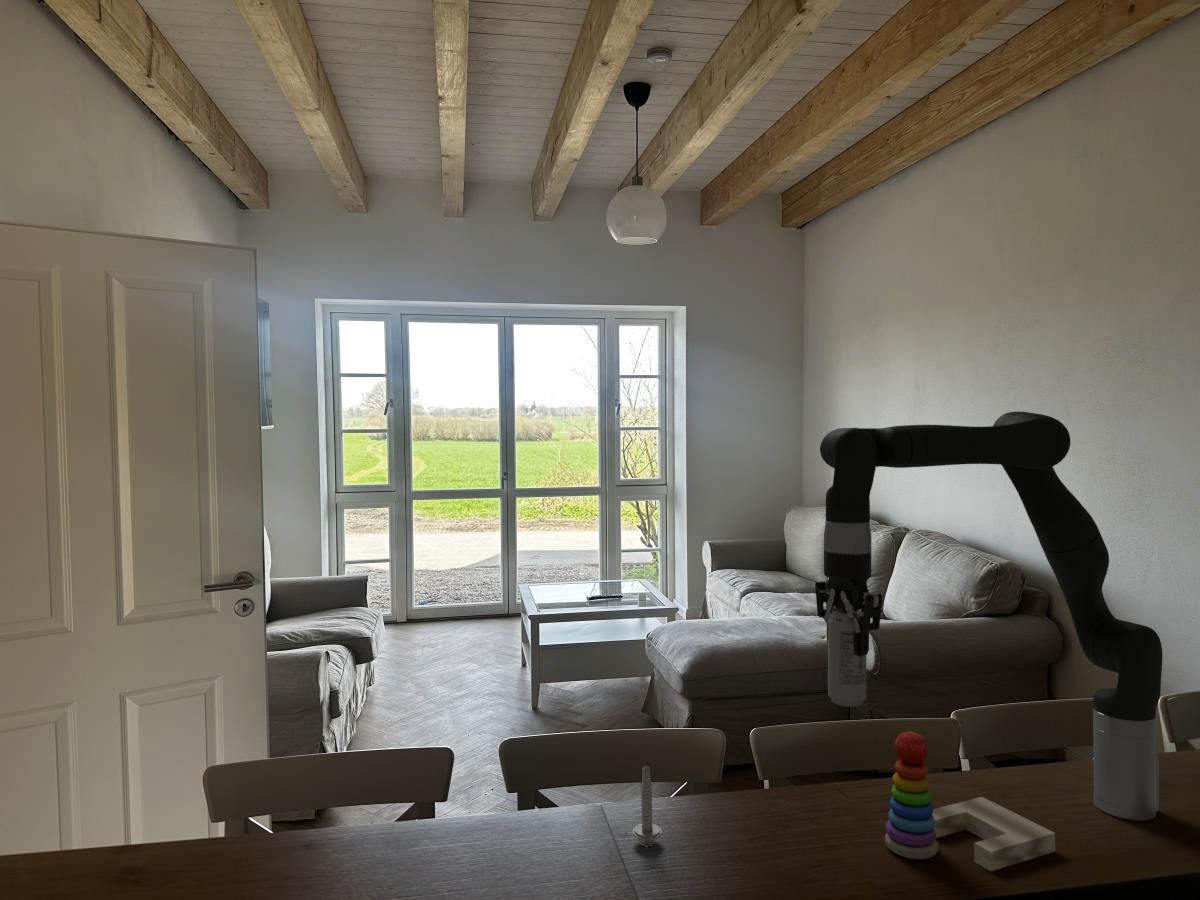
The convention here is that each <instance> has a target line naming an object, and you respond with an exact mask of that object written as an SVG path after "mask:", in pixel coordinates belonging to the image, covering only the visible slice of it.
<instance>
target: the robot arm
mask: <svg viewBox="0 0 1200 900" xmlns="http://www.w3.org/2000/svg"><path fill="white" fill-rule="evenodd" d="M1070 448H1071V435H1070V432H1069V430H1068V428H1067V427H1066V426H1065V424H1063V422H1061V421H1060V420H1058V419H1056V418H1054V417H1052V416H1049V415H1046V414H1041V413H1035V412H1034V413H1033V412H1028V411H1009V412H1006V413H1004V414H1002V415H1000V416H999V417H998V418H997V419H996V420H995V421H994V423H993V425H992V426H991V425H989V426H968V425H949V424H910V425H909V424H907V425H905V424H904V425H894V426H887V427H879V428H877V427H875V428H873V427H872V428H871V427H869V428H867V427H866V428H864V427H862V428H859V427H844V428H843V427H841V428H837V429H833V430H831V431H829V432H828V433H827V434H826V435H825V436H824V437H823V438H822V440H821V443H820V445H819V453H820V456H821V458H822V460H823V462H824V463H825V464H827V466H829V467H831V468H832V469H833V479H832V485H831V486H830V487H829V488H828V489H827V491H826V495H825V521H824V523H825V524H824V532H823V575H824V576H825V577H826V578H827V581H826V580H823V581H816V582H815V584H814V588H815V599H816V611H817V613H816V614H817V616H818V617H819V618H822V619H823V621H824V623H825V624H826V641H827V644H828V620H829V618H830V616H831V614H832V610H833V609H835V610H838V609H843V610H845V611H847V614H848V617H849V619H851V620H852V622H853V626H854V629H855V632H854V654H855V655H858V656H863V655H866V656H867V655H868V653H869V651H870V633H871V632H873V631H878V630H880V626H881V625H880V624H881V618H882V617H881V615H882V605H883V604H882V603H883V595H882V594H881V593H873V592H870V590H869V587H868V583H867V582H868V580H869V579H870V578H871V577H872V530H871V498H870V496H871V491H872V489H873V484H874V478H875V475H876V474H875V473H876V468H878V467H886V468H894V469H901V468H904V469H906V468H907V469H909V468H924V467H926V468H927V467H942V466H954V465H955V466H956V465H1000V466H1002V469H1003V470H1004V471H1005V474H1006V475H1007V476H1008V479H1009V480H1010V482H1011V483H1012V485H1013V486H1014V489H1015V490H1016V493H1018V496H1019V498H1020V500H1021V503H1022V505H1023V507H1024V510H1025V513H1026V514H1027V517H1028V519H1029V521H1030V523H1031V525H1032V527H1033V530H1034V532H1035V534H1036V536H1037V540H1038V541H1039V544H1040V546H1041V549H1042V551H1043V553H1044V555H1045V557H1046V560H1047V562H1048V564H1049V566H1050V568H1051V569H1052V572H1053V574H1054V576H1055V578H1056V581H1057V583H1058V585H1059V588H1060V590H1061V593H1062V595H1063V597H1064V598H1063V599H1065V603H1066V605H1067V607H1068V610H1069V612H1070V613H1069V614H1070V616H1071V621H1072V623H1073V625H1074V626H1073V627H1074V629H1075V631H1076V636H1077V639H1078V642H1079V644H1080V648H1081V650H1082V652H1083V654H1084V655H1085V658H1086V659H1087V660H1088V661H1089V662H1091V664H1093V665H1095V666H1097V668H1100V669H1103V670H1107V671H1108V672H1109V671H1110V672H1114V673H1115V674H1116V673H1117V674H1118V675H1117V683H1116V687H1110V688H1109V687H1107V688H1102V689H1098V690H1096V691H1095V692H1094V693H1093V698H1092V702H1093V704H1092V707H1093V708H1092V709H1093V710H1092V712H1093V713H1092V718H1093V719H1092V721H1093V723H1092V724H1093V727H1092V728H1093V732H1092V734H1093V739H1092V740H1093V804H1094V806H1095V807H1096V808H1097V809H1099V810H1100V811H1102V812H1104V813H1106V814H1108V815H1111V816H1113V817H1116V818H1120V819H1123V820H1125V819H1126V820H1130V821H1149V820H1153V819H1154V818H1156V816H1157V812H1159V811H1160V803H1159V802H1160V798H1159V797H1160V796H1159V795H1160V793H1159V792H1160V791H1159V789H1160V787H1159V786H1160V785H1159V783H1160V782H1159V779H1160V776H1159V773H1160V771H1159V767H1160V766H1159V763H1160V761H1159V760H1160V759H1159V757H1158V756H1157V746H1156V745H1157V734H1156V733H1157V732H1156V731H1157V728H1156V727H1157V725H1156V721H1157V717H1156V716H1157V707H1158V705H1159V702H1160V698H1161V691H1162V689H1161V687H1162V671H1163V646H1162V641H1161V639H1160V636H1159V634H1158V633H1157V632H1156V631H1155V630H1154V629H1153V628H1151V627H1149V626H1147V625H1143V624H1139V623H1134V622H1131V621H1126V620H1122V619H1118V618H1116V617H1115V616H1114V615H1113V614H1112V612H1111V611H1110V608H1109V606H1108V605H1107V602H1106V600H1105V596H1104V594H1103V586H1104V582H1105V579H1106V576H1107V574H1108V570H1109V565H1110V555H1109V551H1108V547H1107V545H1106V543H1105V541H1104V539H1103V536H1102V534H1101V531H1100V530H1099V526H1098V525H1097V523H1096V522H1095V520H1094V518H1093V517H1092V515H1091V514H1090V513H1089V512H1088V510H1087V509H1086V508H1085V507H1084V506H1083V505H1082V503H1081V502H1080V501H1079V499H1077V497H1075V495H1074V494H1073V493H1072V492H1071V491H1070V489H1068V487H1067V486H1066V485H1065V484H1064V483H1063V482H1062V480H1061V479H1060V477H1059V476H1058V475H1057V471H1055V468H1054V466H1057V465H1058V464H1059V463H1061V462H1063V460H1064V459H1065V458H1066V457H1067V455H1068V453H1069V451H1070ZM824 603H825V607H824ZM824 608H825V609H824ZM858 610H860V611H861V612H855V611H858ZM859 618H861V620H862V624H860V621H859ZM871 619H872V621H871Z"/></svg>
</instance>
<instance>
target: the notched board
mask: <svg viewBox="0 0 1200 900" xmlns="http://www.w3.org/2000/svg"><path fill="white" fill-rule="evenodd" d="M932 815H933V816H934V819H935V825H934V827H933V828H934V830H935V833H936V837H935V839H937V838H941V837H944V836H948V835H951V834H952V835H953V834H956V833H959V832H962V831H966V830H967V831H968V832H970V833H972V834H973V835H976V836H977V837H978V838H980V839H982V840H979V841H976V842H974V847H973V848H974V849H973V851H974V853H973V854H974V858H973V859H974V861H973V862H974V863H976V864H977V865H979V866H981V867H982V868H984V869H985V870H987V871H989V872H993V871H997V870H1000V869H1003V868H1007V867H1009V866H1013V865H1016V864H1020V863H1022V862H1027V861H1030V860H1033V859H1036V858H1039V857H1042V856H1045V855H1049V854H1052V853H1055V852H1056V833H1055V832H1054V831H1052V830H1050V829H1048V828H1046V827H1044V826H1042V825H1039V824H1038V823H1035V822H1033V821H1032V820H1030V819H1027V818H1026V817H1024V816H1022V815H1019V814H1017V813H1015V812H1014V811H1011V810H1010V809H1007V808H1005V807H1004V806H1001V805H999V804H997V803H995V802H993V801H991V800H990V799H987V798H985V797H983V796H979V797H976V798H971V799H969V800H965V801H959V802H957V803H952V804H949V805H944V806H941V807H936V808H933V814H932Z"/></svg>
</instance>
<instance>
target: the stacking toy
mask: <svg viewBox="0 0 1200 900" xmlns="http://www.w3.org/2000/svg"><path fill="white" fill-rule="evenodd" d="M894 750H895V753H896V755H897V757H898V758H899V760H897V761H896V762H895V764H894V769H895V770H894V771H895V773H894V774H893V776H892V779H891V781H892V783H893V785H892V786H891V795H892V797H891V798H890V800H889V805H890V809H889V812H888V820H887V821H886V823H885V830H886V833H885V835H884V843H885V845H886V847H887V848H888V849H889V850H890V851H891V852H893V853H895V854H896V855H898V856H901V857H903V858H906V859H911V860H927V859H930V858H932V857H934V856H935V855H936V854H937V853H938V850H939V844H938V841H937V840H936V838H935V837H936V833H935V830H934V828H933V827H934V825H935V819H934V816H933V815H932V814H933V809H934V806H933V804H932V802H931V801H932V792H931V791H930V789H929V787H930V781H929V779H928V778H927V776H928V774H929V768H928V765H927V764H926V763H925V761H926V759H927V757H928V756H929V745H928V743H927V741H926V739H925V738H924V737H923V736H922V735H921V734H920V733H917V732H914V731H910V730H909V731H904V732H902V733H900V734H899V735H898V736H897V737H896V739H895V741H894Z"/></svg>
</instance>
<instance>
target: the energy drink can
mask: <svg viewBox="0 0 1200 900" xmlns="http://www.w3.org/2000/svg"><path fill="white" fill-rule="evenodd" d="M855 612H861V609H860V610H858V611H855ZM859 621H860V624H862V620H861V618H859ZM854 632H855V629H854V626H853V622H852V620H851V619H849V617H848V614H847V611H845V610H843V609H838V610H835V609H833V610H832V614H831V616H830V618H829V620H828V643H827V695H828V697H829V698H830V699H831V700H830V701H831V703H833V704H835V705H837V706H841V707H849V708H850V707H859V706H862V705H863V702H864V701H865V700H867V655H863V656H858V655H855V654H854Z"/></svg>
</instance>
